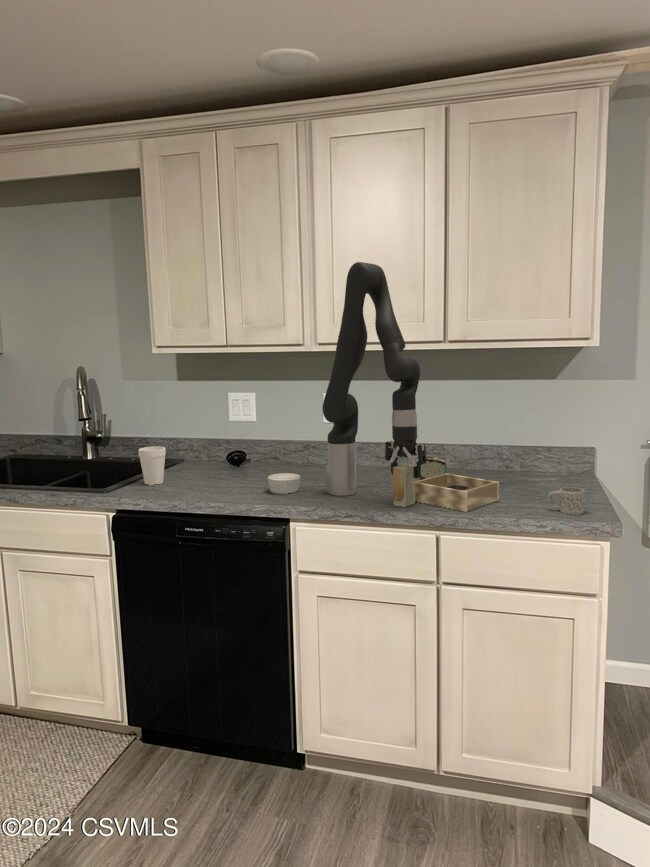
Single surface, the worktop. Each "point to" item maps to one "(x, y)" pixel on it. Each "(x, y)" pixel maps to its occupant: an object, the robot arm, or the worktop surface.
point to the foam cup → (152, 464)
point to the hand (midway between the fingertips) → (405, 476)
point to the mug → (569, 500)
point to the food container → (434, 466)
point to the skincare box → (403, 485)
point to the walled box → (456, 491)
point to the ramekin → (284, 483)
